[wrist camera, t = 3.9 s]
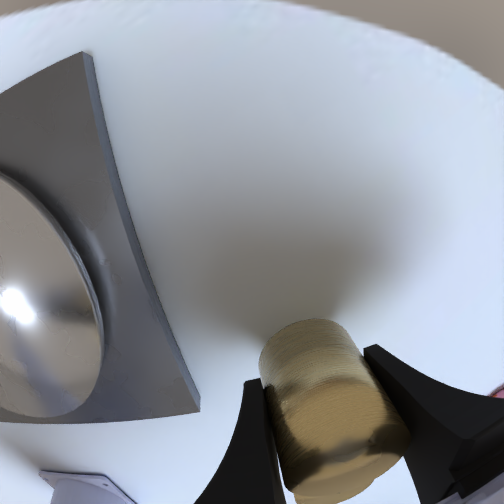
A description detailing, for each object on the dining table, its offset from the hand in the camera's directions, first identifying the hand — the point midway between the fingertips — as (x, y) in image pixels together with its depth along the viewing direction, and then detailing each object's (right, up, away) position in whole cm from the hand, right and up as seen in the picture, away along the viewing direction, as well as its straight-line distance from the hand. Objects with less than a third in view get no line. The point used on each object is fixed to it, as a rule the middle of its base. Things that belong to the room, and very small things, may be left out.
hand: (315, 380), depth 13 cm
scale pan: (-16, +3, -1) cm, 16 cm away
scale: (-18, +3, +1) cm, 18 cm away
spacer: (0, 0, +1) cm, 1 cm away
